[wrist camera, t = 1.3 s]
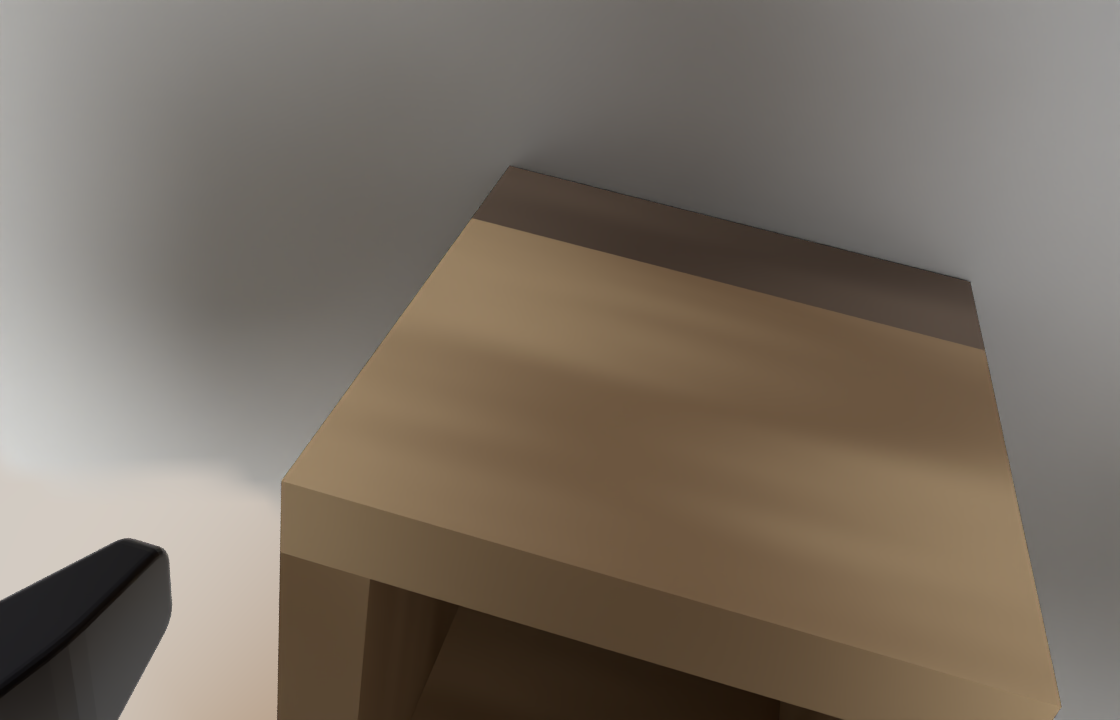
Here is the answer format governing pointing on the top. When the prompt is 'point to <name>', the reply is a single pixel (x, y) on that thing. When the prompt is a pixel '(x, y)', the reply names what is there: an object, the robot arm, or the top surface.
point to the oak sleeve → (661, 488)
